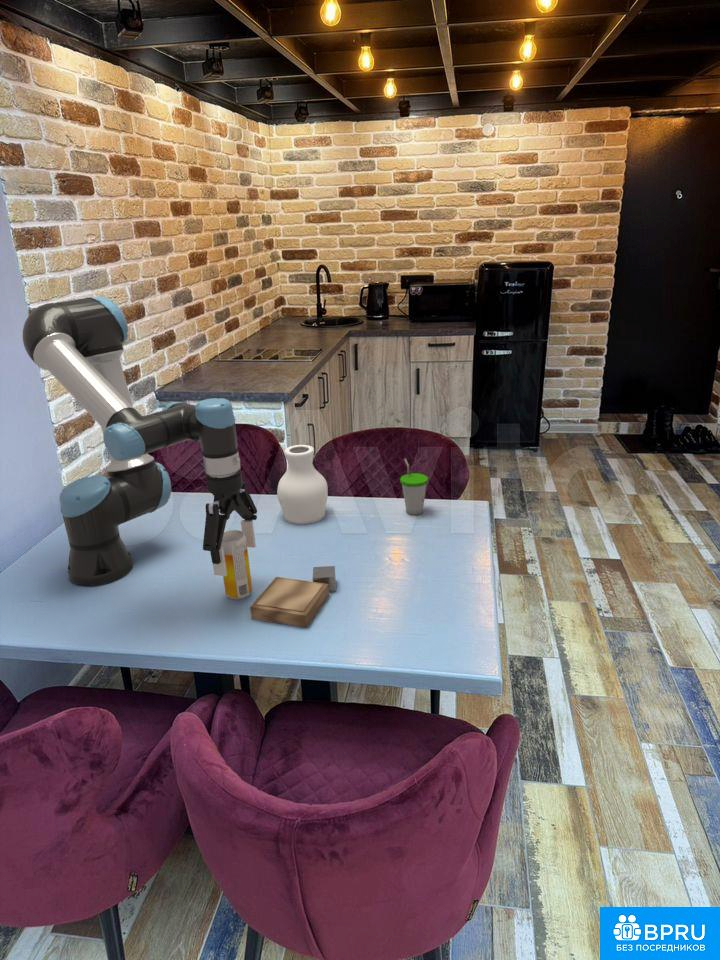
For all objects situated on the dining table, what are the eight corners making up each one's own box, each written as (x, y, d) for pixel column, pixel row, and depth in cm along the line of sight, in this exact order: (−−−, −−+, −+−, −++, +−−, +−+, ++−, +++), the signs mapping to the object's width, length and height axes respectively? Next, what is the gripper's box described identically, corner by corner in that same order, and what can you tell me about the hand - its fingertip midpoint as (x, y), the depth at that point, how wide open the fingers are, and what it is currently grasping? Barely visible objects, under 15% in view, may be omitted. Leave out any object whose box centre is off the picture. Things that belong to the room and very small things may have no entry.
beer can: (243, 584, 161) (236, 526, 155) (257, 594, 157) (250, 535, 151) (221, 593, 158) (212, 535, 152) (234, 604, 153) (226, 544, 147)
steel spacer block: (313, 593, 156) (312, 578, 155) (314, 582, 161) (313, 567, 159) (335, 592, 156) (334, 576, 155) (335, 580, 161) (334, 565, 159)
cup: (430, 517, 190) (429, 467, 184) (401, 518, 190) (400, 468, 184) (427, 505, 197) (426, 456, 191) (399, 507, 197) (398, 458, 192)
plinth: (251, 618, 147) (249, 605, 146) (277, 588, 159) (275, 575, 157) (307, 627, 143) (305, 614, 142) (329, 595, 155) (328, 583, 153)
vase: (283, 529, 187) (276, 461, 180) (276, 508, 200) (269, 444, 193) (334, 521, 190) (329, 454, 183) (324, 502, 203) (319, 438, 196)
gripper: (208, 495, 134) (223, 590, 141) (265, 453, 155) (275, 537, 163) (175, 492, 136) (191, 585, 144) (235, 451, 158) (247, 534, 166)
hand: (236, 560), depth 153 cm, fingers open, 13 cm apart
